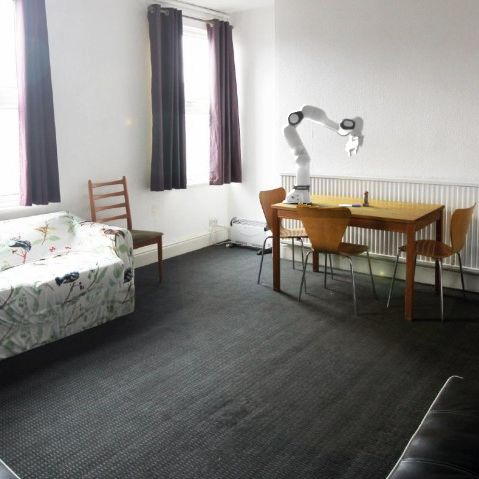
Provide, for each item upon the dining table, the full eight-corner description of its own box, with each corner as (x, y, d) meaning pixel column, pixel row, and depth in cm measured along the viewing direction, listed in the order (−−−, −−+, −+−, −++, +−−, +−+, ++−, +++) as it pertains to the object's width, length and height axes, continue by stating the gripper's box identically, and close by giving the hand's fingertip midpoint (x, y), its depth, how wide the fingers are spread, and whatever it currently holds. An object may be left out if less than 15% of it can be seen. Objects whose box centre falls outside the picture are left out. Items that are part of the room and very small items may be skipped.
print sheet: (338, 206, 433) (338, 205, 433) (340, 204, 441) (340, 204, 441) (351, 206, 430) (351, 206, 430) (352, 204, 439) (352, 204, 439)
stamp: (362, 206, 431) (363, 191, 429) (363, 205, 435) (363, 190, 433) (368, 206, 430) (369, 191, 428) (369, 205, 434) (369, 190, 432)
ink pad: (351, 206, 430) (351, 205, 429) (352, 205, 437) (352, 203, 437) (359, 206, 428) (359, 205, 428) (360, 205, 436) (360, 203, 435)
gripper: (345, 139, 447) (342, 156, 445) (358, 133, 427) (355, 151, 425) (352, 142, 448) (349, 158, 447) (365, 135, 429) (362, 153, 427)
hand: (352, 155), depth 436 cm, fingers open, 8 cm apart
